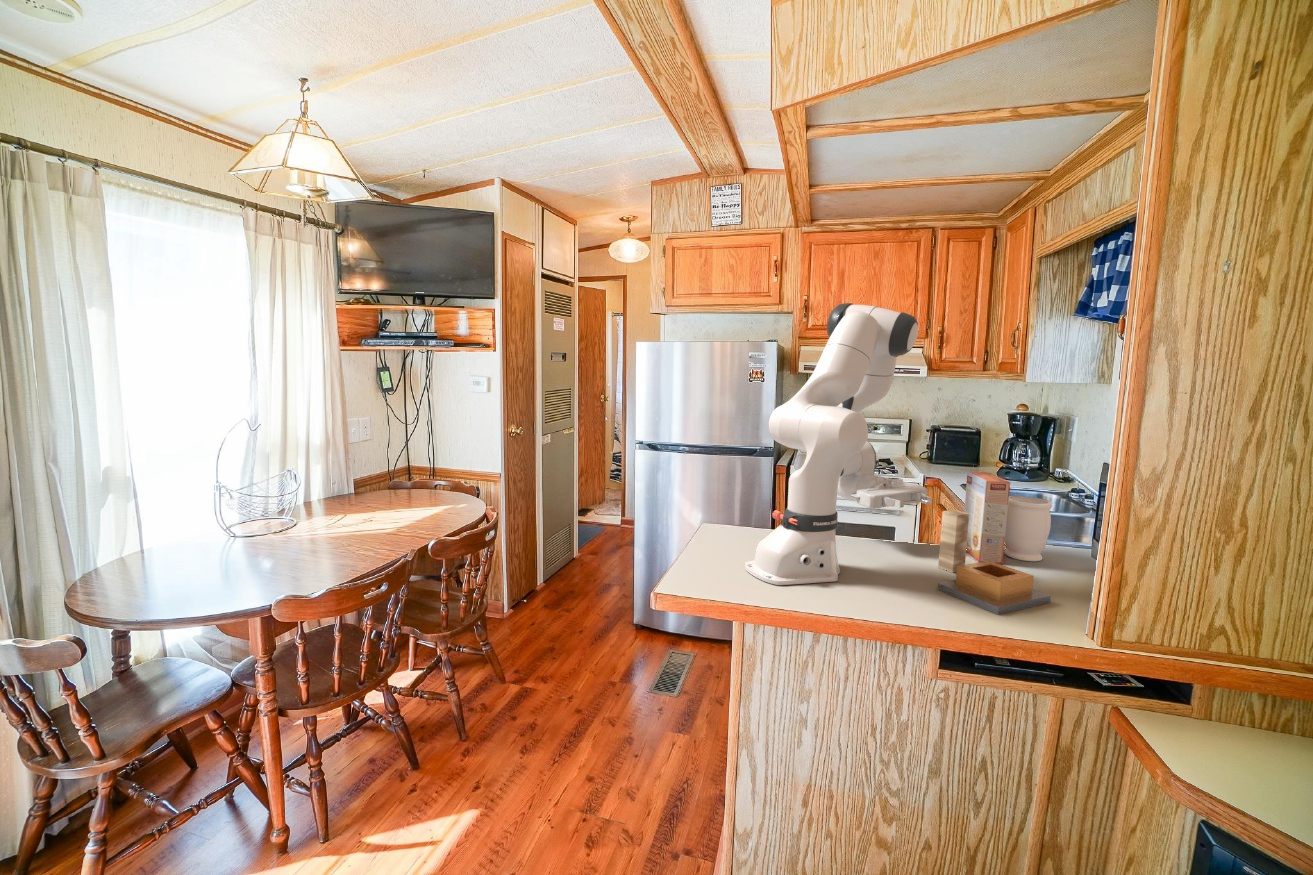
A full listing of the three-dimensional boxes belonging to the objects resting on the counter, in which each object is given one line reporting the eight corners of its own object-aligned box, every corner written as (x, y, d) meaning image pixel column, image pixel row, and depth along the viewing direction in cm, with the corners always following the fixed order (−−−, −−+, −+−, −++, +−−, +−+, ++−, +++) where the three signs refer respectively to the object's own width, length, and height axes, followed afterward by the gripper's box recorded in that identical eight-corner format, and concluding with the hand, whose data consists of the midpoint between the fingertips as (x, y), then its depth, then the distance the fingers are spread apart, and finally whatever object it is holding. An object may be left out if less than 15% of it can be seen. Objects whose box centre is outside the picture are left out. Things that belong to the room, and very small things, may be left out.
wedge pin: (952, 573, 135) (957, 515, 134) (938, 567, 139) (942, 511, 137) (964, 570, 137) (969, 513, 135) (949, 565, 141) (954, 509, 139)
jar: (994, 548, 155) (999, 494, 153) (1038, 552, 152) (1044, 497, 150) (1006, 560, 145) (1011, 502, 143) (1053, 565, 142) (1059, 506, 140)
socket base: (997, 614, 112) (1000, 587, 112) (937, 589, 125) (939, 564, 124) (1050, 602, 119) (1052, 577, 118) (987, 579, 131) (989, 556, 131)
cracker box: (1004, 564, 142) (1012, 481, 139) (977, 562, 143) (984, 480, 141) (984, 547, 156) (990, 471, 153) (960, 545, 157) (966, 470, 154)
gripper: (846, 483, 156) (885, 494, 143) (903, 477, 164) (944, 486, 151) (845, 506, 156) (884, 519, 144) (902, 498, 165) (943, 510, 152)
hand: (915, 502), depth 148 cm, fingers open, 8 cm apart
